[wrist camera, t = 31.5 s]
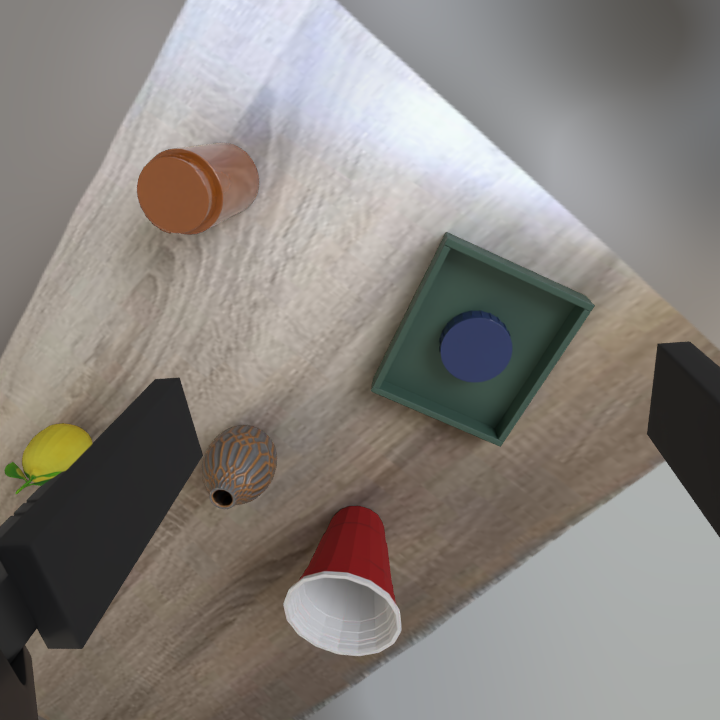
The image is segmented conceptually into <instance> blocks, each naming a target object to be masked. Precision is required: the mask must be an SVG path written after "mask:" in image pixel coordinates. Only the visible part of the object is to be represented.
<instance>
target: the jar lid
mask: <svg viewBox="0 0 720 720" xmlns="http://www.w3.org/2000/svg"><path fill="white" fill-rule="evenodd" d="M510 337H511V336H510V333H509V331H507V328H506V326H505V323H503V322H502V321H501V320H500V319H499V317H496V316H494V315H492V314H491V313H487V312H484V311H482V310H480V311H472V310H471V311H469V312H465V313H463V312H462V314H460V315H458V316H456V317H453V319H452V320H450V321H449V323H447V325H446V326H445V328H444V329H443V330H442V334H441V337H440V338H439V342H440V346H439V352H440V353H441V360H442V362H443V364H444V366H445V368H446V369H447V370H448V371H449V373H451V374H452V375H453V376H454V377H456V378H458V379H460V380H463V381H466V382H484V381H487V380H490V379H492V378H494V377H496V376H497V375H499V374H500V373H501V372H502V371H503V370H504V369H505V368H506V367H507V365H508V363H509V361H510V359H511V356H512V341H511V338H510Z"/></svg>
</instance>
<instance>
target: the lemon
mask: <svg viewBox="0 0 720 720" xmlns="http://www.w3.org/2000/svg"><path fill="white" fill-rule="evenodd" d="M91 445H92V439H91V438H90V436H89V434H88V433H87V432H86V431H85V430H83V429H81V428H80V427H77V426H75V425H71V424H64V423H62V424H54V425H51V426H49V427H47V428H46V429H44V430H42V431H41V432H39V433H38V434H37V435H36V436H35V437H34V438H33V439H32V440H31V442H30V443H29V444H28V446H27V447H26V449H25V451H24V453H23V458H22V466H23V470H24V473H25V474H26V476H27V477H28V478H29V479H30V480H29V481H27V479H26V477H25V476H24V474H23V472H22V471H21V470H20V468H19V467H18V466H17V465H16V464H15V463H14V462H12V463H10V464H8V465H7V466H6V468H5V474H6V475H7V476H9V477H13V478H20V479H24V480H25V481H26V483H25V484H24V485H23V486H22V487H21V488H19V489H18V490H17V491H16V494H18V493H19V492H20V491H21V490H22V489H24V488H25V487H27V486H30V485H38V486H42V485H43V484H44V483H46V482H47V481H49V480H50V479H52V478H54V477H55V476H57V475H58V474H60V473H61V472H63V471H66V470H67V469H68V468H69V467H70V466H71V465H72V464H73V463H74V462H75V461H76V460H77V459H78V458H79V457H80V456H81V455H82V454H83V453H84V452H85V451H86V450H87V449H88V448H89V447H90V446H91ZM31 481H33V482H35V483H32V484H29V483H30V482H31ZM28 484H29V485H28Z"/></svg>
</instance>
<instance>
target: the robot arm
mask: <svg viewBox="0 0 720 720" xmlns="http://www.w3.org/2000/svg"><path fill="white" fill-rule="evenodd" d="M647 435H648V436H649V438H650V439H651V440H652V442H653V443H654V445H655V446H656V448H657V449H658V450H659V452H660V453H661V455H662V456H663V457H664V459H665V460H666V462H667V463H668V465H669V466H670V467H671V469H672V470H673V472H674V473H675V474H676V476H677V477H678V479H679V480H680V482H681V483H682V485H683V486H684V487H685V489H686V490H687V491H688V493H689V494H690V496H691V497H692V499H693V500H694V502H695V503H696V504H697V506H698V507H699V509H700V510H701V512H702V513H703V514H704V516H705V517H706V519H707V520H708V522H709V523H710V524H711V526H712V527H713V529H714V530H715V531H716V533H717V534H718V536H719V537H720V367H719V366H718V365H717V364H715V363H714V362H713V361H712V360H711V359H710V358H708V357H707V356H706V355H705V354H704V353H703V352H701V351H700V350H699V349H698V348H697V347H696V346H694V345H693V344H692V343H691V342H676V343H662V344H658V346H657V354H656V363H655V371H654V380H653V388H652V397H651V405H650V414H649V422H648V431H647ZM202 456H203V454H202V451H201V448H200V444H199V441H198V438H197V434H196V431H195V428H194V424H193V421H192V418H191V414H190V411H189V408H188V404H187V401H186V398H185V394H184V391H183V388H182V384H181V381H180V378H167V379H155V380H154V381H153V382H152V383H151V384H150V385H149V386H148V387H147V388H146V389H145V390H144V391H143V392H142V393H141V394H140V395H139V396H138V397H137V398H136V400H135V401H134V402H133V403H132V404H131V405H130V406H129V407H128V408H127V409H126V410H125V411H124V412H123V413H122V414H121V415H120V416H119V417H118V418H117V419H116V420H115V421H114V422H113V423H112V424H111V425H110V426H109V427H108V428H107V429H106V430H105V431H104V432H103V433H102V434H101V435H100V436H99V437H98V438H97V439H96V440H95V442H94V443H93V444H92V445H91V446H90V447H89V448H88V449H87V450H86V451H85V452H84V453H83V454H82V455H81V456H80V457H79V458H78V459H77V460H76V461H75V462H74V463H73V464H72V465H71V466H70V467H69V468H68V469H67V470H66V471H63V472H61V473H60V474H58V475H57V476H55V477H54V478H52V479H50V480H49V481H47V482H46V483H44V484H43V485H42V486H41V487H40V488H39V489H38V490H37V491H35V492H34V493H33V494H32V495H31V496H30V497H29V498H28V499H27V503H23V504H22V505H21V506H20V507H19V508H18V509H17V510H16V511H15V512H14V516H10V517H9V518H8V519H7V520H6V521H5V522H4V523H3V524H2V525H1V526H0V720H38V713H37V704H36V695H35V686H34V677H33V667H32V658H31V655H30V653H29V651H28V649H27V648H26V646H25V644H26V642H27V641H28V640H29V638H30V637H31V636H32V634H33V633H34V631H35V630H36V629H38V631H39V633H40V635H41V637H42V638H43V640H44V642H45V644H46V646H47V648H48V649H82V648H83V647H84V645H85V644H86V642H87V640H88V639H89V637H90V636H91V634H92V632H93V631H94V629H95V628H96V626H97V624H98V623H99V621H100V620H101V618H102V616H103V615H104V613H105V612H106V610H107V608H108V607H109V605H110V603H111V602H112V600H113V599H114V597H115V595H116V594H117V592H118V591H119V589H120V587H121V586H122V584H123V583H124V581H125V579H126V578H127V576H128V575H129V573H130V571H131V570H132V568H133V567H134V565H135V563H136V562H137V560H138V559H139V557H140V555H141V554H142V552H143V551H144V549H145V547H146V546H147V544H148V543H149V541H150V539H151V538H152V536H153V535H154V533H155V531H156V530H157V528H158V527H159V525H160V523H161V522H162V520H163V519H164V517H165V515H166V514H167V512H168V510H169V509H170V507H171V506H172V504H173V502H174V501H175V499H176V498H177V496H178V494H179V493H180V491H181V490H182V488H183V486H184V485H185V483H186V482H187V480H188V478H189V477H190V475H191V474H192V472H193V470H194V469H195V467H196V466H197V464H198V462H199V461H200V459H201V458H202Z"/></svg>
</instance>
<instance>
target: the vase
mask: <svg viewBox="0 0 720 720" xmlns="http://www.w3.org/2000/svg"><path fill="white" fill-rule="evenodd" d="M276 466H277V454H276V449H275V446H274V444H273V442H272V440H271V439H270V437H269V436H268V435H267V434H266V433H264V432H263V431H262V430H260V429H258V428H256V427H252V426H247V425H239V426H235V427H232V428H229V429H227V430H225V431H223V432H222V433H221V434H219V435H218V436H217V437H216V438H215V439H214V440H213V441H212V443H211V444H210V446H209V447H208V449H207V451H206V453H205V456H204V459H203V464H202V478H203V482H204V484H205V487H206V489H207V490H208V492H209V497H210V500H211V502H212V503H213V504H214V505H215V506H216V507H218V508H221V509H229V508H231V507H233V506H234V505H240V504H245V503H248V502H250V501H252V500H254V499H256V498H257V497H258V496H260V495H261V494H262V493H263V492H264V491H265V490H266V489H267V487H268V486H269V484H270V483H271V481H272V479H273V476H274V474H275V470H276Z"/></svg>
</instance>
